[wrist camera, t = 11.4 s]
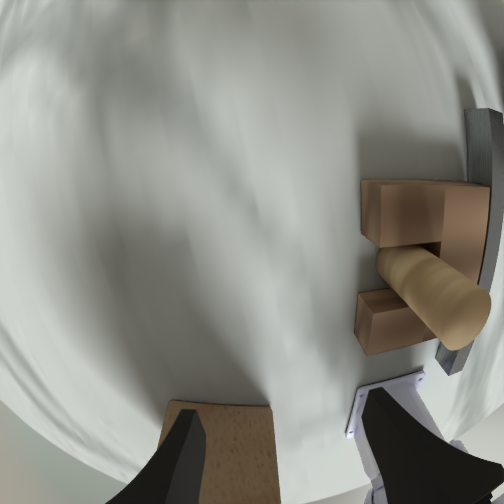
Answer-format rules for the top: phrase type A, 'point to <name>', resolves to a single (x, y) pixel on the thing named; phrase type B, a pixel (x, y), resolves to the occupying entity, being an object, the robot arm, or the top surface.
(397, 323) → the block
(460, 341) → the dowel
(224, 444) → the wooden block
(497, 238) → the rail
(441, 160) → the top surface
